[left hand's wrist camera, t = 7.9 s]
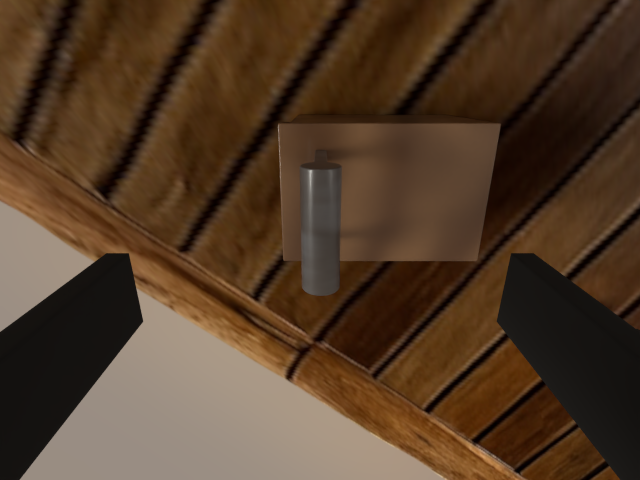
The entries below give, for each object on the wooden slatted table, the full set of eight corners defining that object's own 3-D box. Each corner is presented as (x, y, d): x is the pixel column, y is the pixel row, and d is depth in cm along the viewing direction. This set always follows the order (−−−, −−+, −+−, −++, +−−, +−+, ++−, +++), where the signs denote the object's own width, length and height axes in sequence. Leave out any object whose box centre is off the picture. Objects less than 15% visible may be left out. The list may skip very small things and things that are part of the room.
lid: (284, 254, 27) (270, 320, 19) (279, 121, 23) (259, 135, 15) (471, 254, 27) (533, 320, 19) (493, 121, 23) (580, 135, 15)
